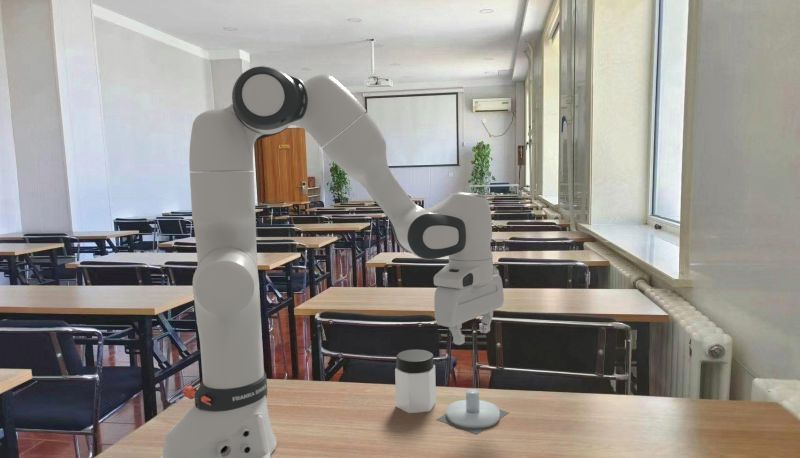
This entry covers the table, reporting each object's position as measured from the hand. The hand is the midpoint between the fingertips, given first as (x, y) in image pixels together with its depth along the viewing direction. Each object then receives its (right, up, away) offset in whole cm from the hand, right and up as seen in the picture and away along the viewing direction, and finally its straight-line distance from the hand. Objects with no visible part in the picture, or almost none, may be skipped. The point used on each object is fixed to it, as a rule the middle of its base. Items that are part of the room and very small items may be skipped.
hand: (472, 337), depth 109 cm
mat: (0, -17, +2) cm, 18 cm away
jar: (-11, -17, +8) cm, 22 cm away
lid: (0, -17, +2) cm, 17 cm away
